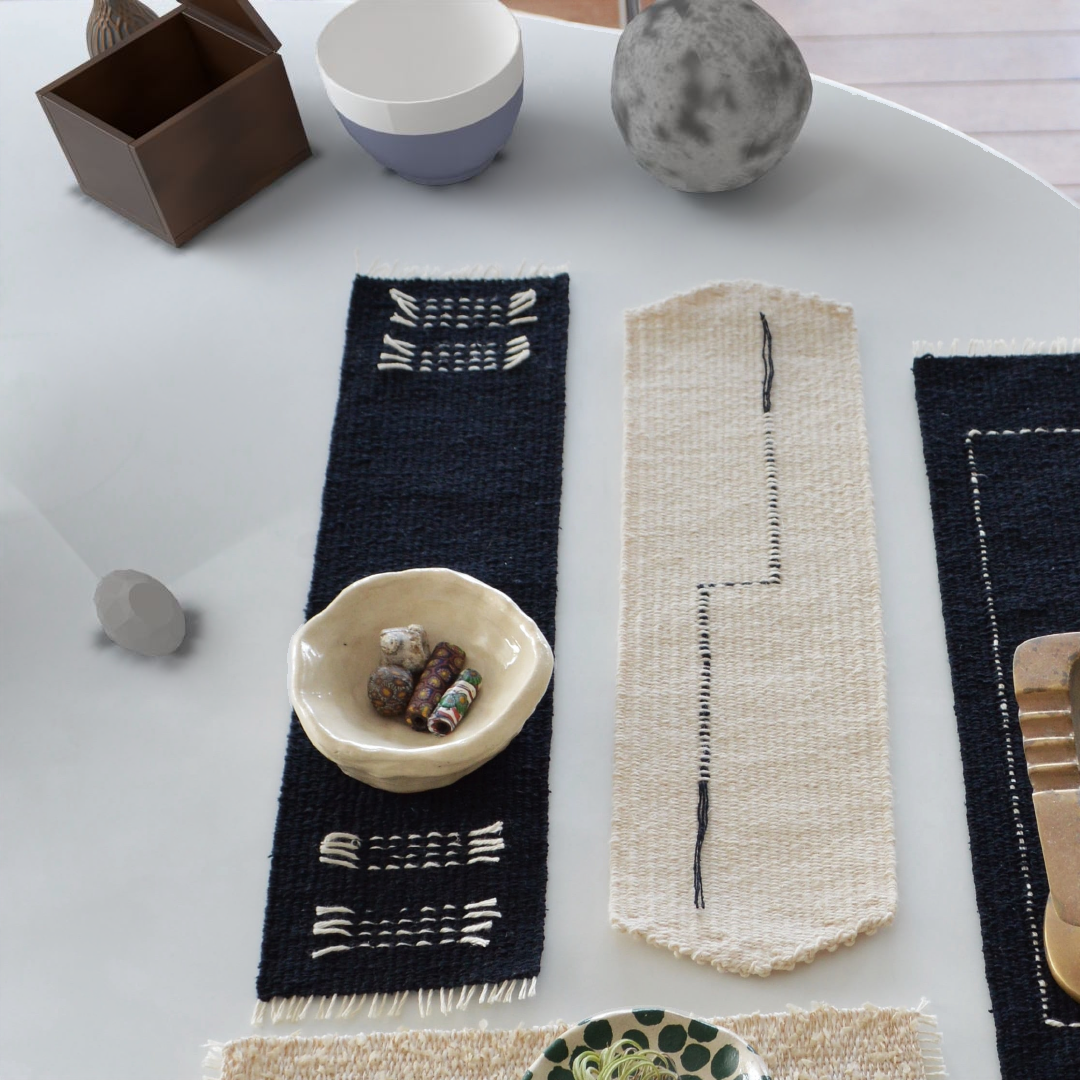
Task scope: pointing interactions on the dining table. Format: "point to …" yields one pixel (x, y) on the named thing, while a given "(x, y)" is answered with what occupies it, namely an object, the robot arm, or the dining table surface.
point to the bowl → (425, 82)
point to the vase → (115, 22)
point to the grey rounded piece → (139, 613)
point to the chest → (177, 123)
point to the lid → (237, 19)
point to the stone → (708, 92)
